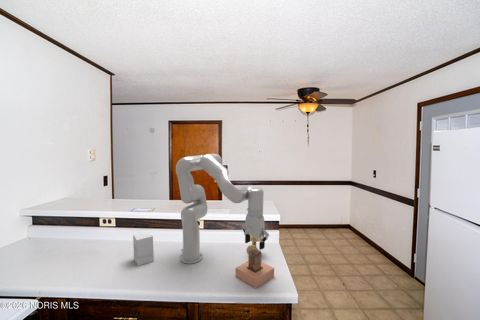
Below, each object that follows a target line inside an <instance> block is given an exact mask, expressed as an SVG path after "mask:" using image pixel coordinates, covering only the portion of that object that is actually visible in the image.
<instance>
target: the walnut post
mask: <svg viewBox="0 0 480 320" xmlns="http://www.w3.org/2000/svg"><path fill="white" fill-rule="evenodd" d="M248 261H249V267H248V269H249V270H251V271H253V272H255V273H256V272H258V271H259V270H261V262H262V250H260V249H258V250H257V249H255V248H254V249H252V250H250V251H249V255H248Z"/></svg>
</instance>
